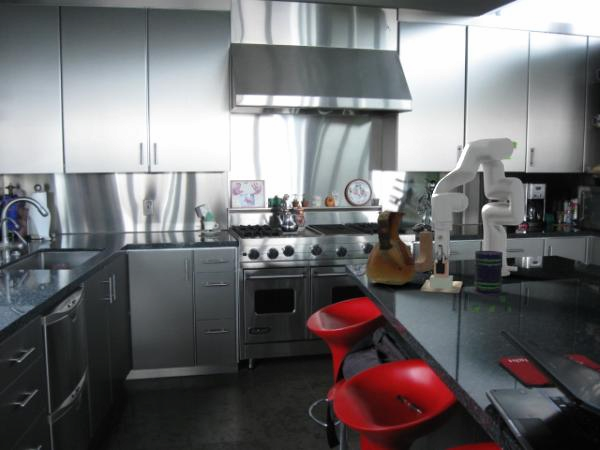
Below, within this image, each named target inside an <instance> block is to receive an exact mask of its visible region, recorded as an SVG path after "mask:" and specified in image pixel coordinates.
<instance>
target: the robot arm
mask: <svg viewBox="0 0 600 450" xmlns="http://www.w3.org/2000/svg"><path fill="white" fill-rule="evenodd" d="M514 145H515V144H514V143H513V141H512V139H511V138H508V137H498V138H497V137H495V138H483V139H482V138H481V139H477V140H473V141H470V142H467V143H466V144H465V145H464V148H463V149H462V151H461V154H460V155H459V158H458V161H457V163H456V165H455V168H454V170H452V171H450V172H448V173H447V174H446V175H445V176H444V177H443V178H442V179H440V180H439V181H438V183H436V186H435V188H434V190H433V192H432V195H431V198H430V206H431V231H434V256H435V257H436V259H435V260H436V274H445V263H444V260H447V257H449V256H450V255H451V246H450V245H451V241H450V238H451V237H450V231H452V230H453V213H461V212H464V211H465V210H466V209H467V208H468V206H469V198H468V196H467V195H466V194H464V193H462V192H450V191H452V190H453V189H455V188H457V187H459V186H460V187H461V186H463V185H465V184H467V183H470V182H472V181H473V180H474V179H476V176H477V173H478V171H479V168H480V166H482V170H483V187H484V188H483V189H484V191H483V192H484V195H485V197H486V198H487V199H489V200H499V202H497V201H496V202H488V203H486V204H484V205H483V206H482V208H481V218H482V224H483V250H482V251H498V252H502V253H503V255H502V260H503V263H502V265H503V266H502V276H501V277H508V276H510V275H511V272H518V266H510V265H508V263H507V246H508V245H507V244H508V243H507V241H508V240H507V239H508V237H507V235H508V234H507V232H506V230H505V228H504V225H505V226H519V225H521V224H522V223H523V222H524V219H525V191H524V184H523V182H522V180H521V179H520V178H517V177H512V176H511V177H510V176H509V177H506V174H505V165H504V163H503V161H504V160H506V159H509V158H510V157H512V155H513V153H514V149H515V146H514ZM502 160H503V161H502ZM500 200H503V201H508V202H500Z"/></svg>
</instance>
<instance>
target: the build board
mask: <svg viewBox="0 0 600 450" xmlns="http://www.w3.org/2000/svg"><path fill="white" fill-rule="evenodd" d="M462 286H463V281H457V280H455V281H454V280H453V286H452V289H443V288H430V279H426V280H425V282H424V283H423V285H422V286H421V288H420V291H421V292H433V293H449V294H453V293H454V294H460V293H461V289H462Z"/></svg>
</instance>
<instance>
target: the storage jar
mask: <svg viewBox="0 0 600 450" xmlns="http://www.w3.org/2000/svg"><path fill="white" fill-rule="evenodd" d="M474 254H475V255H474V267H475V275H474V278H473V279H474V293H475V294H480V295H484V296H485V295H488V296H491V295H493V296H496V295H502V293H503V290H502V289H503V276H502V266H503V265H502V263H503V260H502V255H503V253H502V252H498V251H483V250H476V251H475V252H474Z"/></svg>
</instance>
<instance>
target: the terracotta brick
mask: <svg viewBox="0 0 600 450" xmlns="http://www.w3.org/2000/svg"><path fill="white" fill-rule="evenodd" d="M436 260H437V259H435V260H434V261H433V275H434V277H437V278H448V276H450V275H449V274H450V273H449V270H450V268H449V267H450V266H449V265H450V264H449V263H450V261H449V260H447V259H446V260H444V263H445V274H436Z"/></svg>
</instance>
